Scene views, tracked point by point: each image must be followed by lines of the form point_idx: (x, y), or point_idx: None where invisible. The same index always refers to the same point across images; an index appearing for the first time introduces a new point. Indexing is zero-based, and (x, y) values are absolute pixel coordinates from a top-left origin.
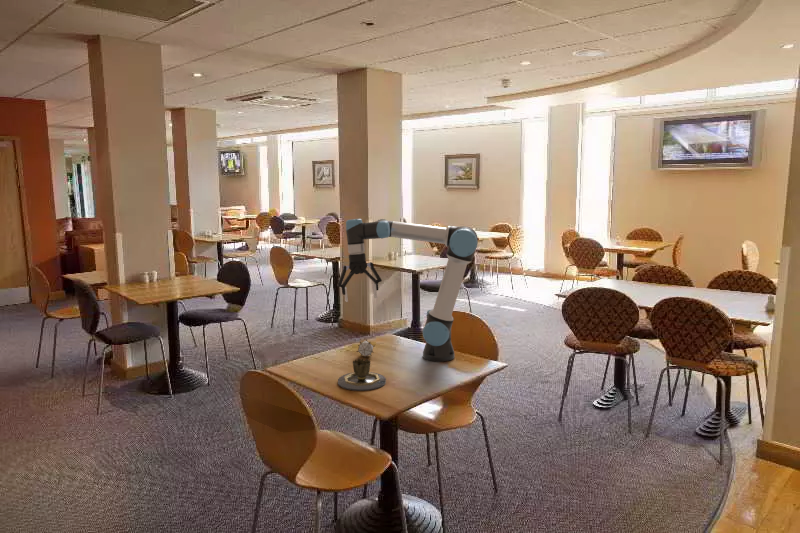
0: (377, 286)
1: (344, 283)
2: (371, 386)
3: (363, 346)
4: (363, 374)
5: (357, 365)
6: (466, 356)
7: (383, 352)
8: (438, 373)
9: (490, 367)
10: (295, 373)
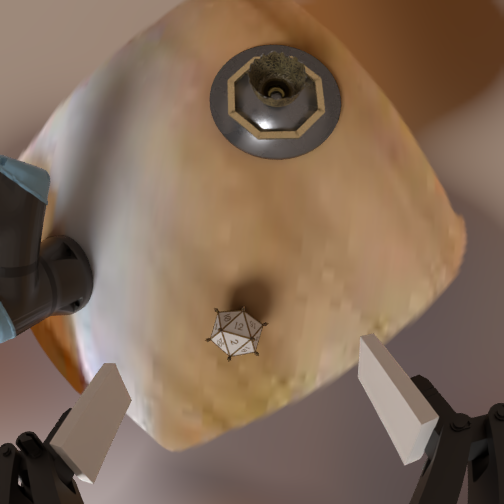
0: (56, 430)
1: (464, 455)
2: (255, 50)
3: (244, 322)
4: (273, 70)
5: (292, 58)
6: None
7: (185, 346)
8: (82, 150)
9: None
10: (436, 209)
